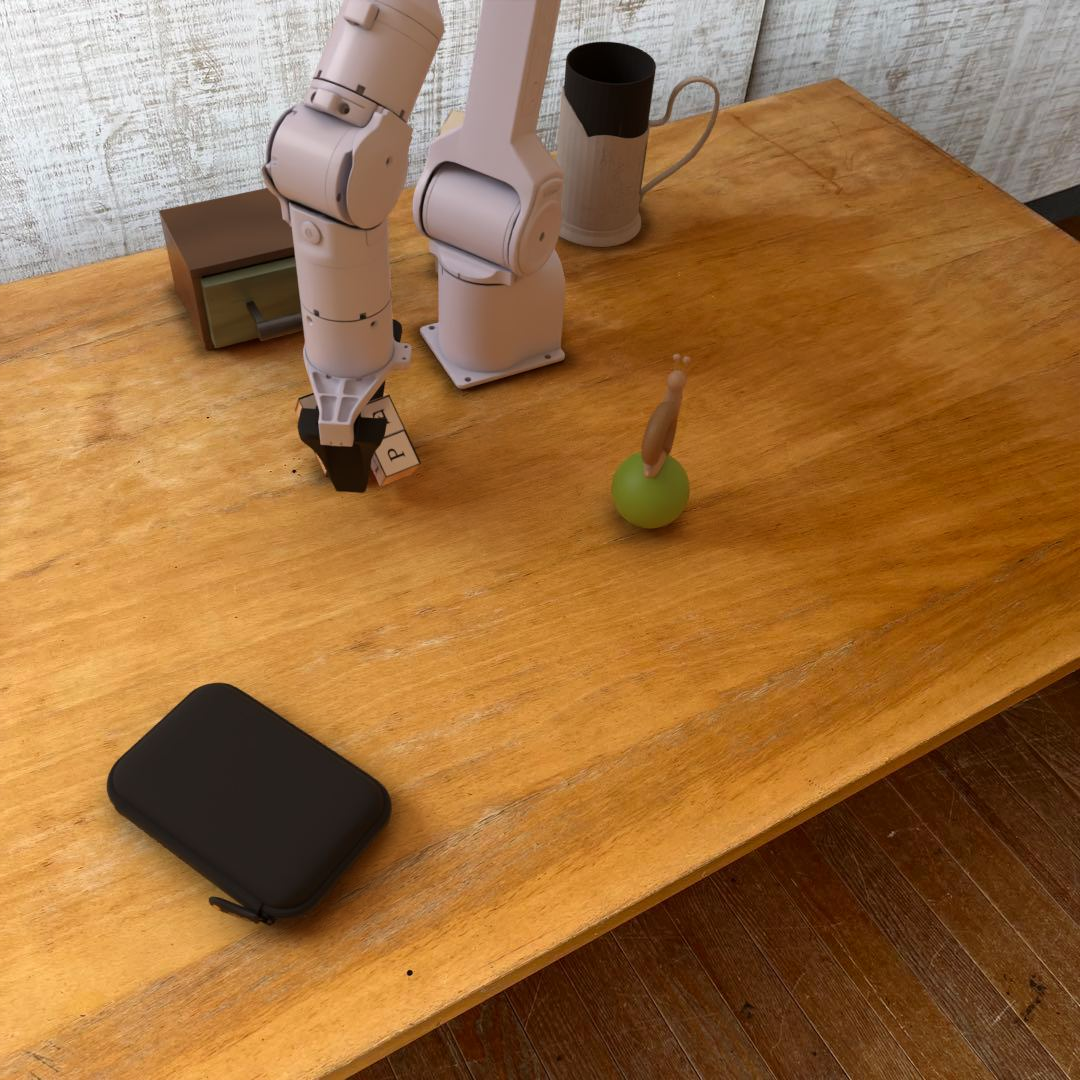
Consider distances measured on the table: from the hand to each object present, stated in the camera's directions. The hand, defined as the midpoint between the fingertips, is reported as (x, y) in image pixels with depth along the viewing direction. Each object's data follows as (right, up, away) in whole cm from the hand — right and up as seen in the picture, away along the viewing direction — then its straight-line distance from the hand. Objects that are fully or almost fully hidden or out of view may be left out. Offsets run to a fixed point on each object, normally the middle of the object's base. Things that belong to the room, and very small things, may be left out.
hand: (358, 450), depth 84 cm
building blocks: (0, -1, +1) cm, 2 cm away
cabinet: (-10, +13, +13) cm, 21 cm away
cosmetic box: (+6, +18, +19) cm, 27 cm away
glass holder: (+21, +23, +25) cm, 40 cm away
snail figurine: (+21, -5, 0) cm, 21 cm away
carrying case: (-4, -22, -18) cm, 28 cm away
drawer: (-8, +11, +11) cm, 18 cm away
